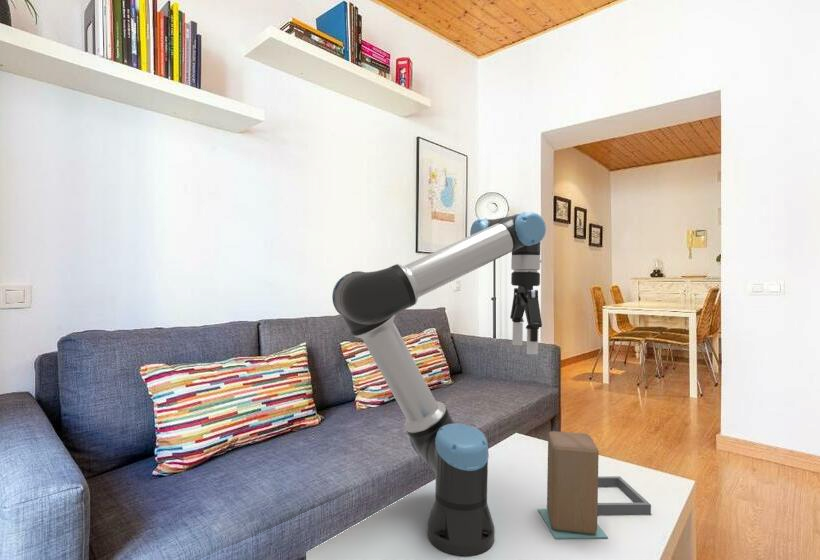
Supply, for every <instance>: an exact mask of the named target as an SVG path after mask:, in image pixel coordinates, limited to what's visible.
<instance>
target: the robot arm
mask: <svg viewBox="0 0 820 560" xmlns="http://www.w3.org/2000/svg"><path fill="white" fill-rule="evenodd" d="M545 222H546V221H545V220H544V219H543V217H542V216H541V215H540V214H538V213H536V212H533V211H529V212H527V211H526V212H524V211H523V212H520V213H516V214H514V215H510V216H503V217H499V218H495V219H493V218H492V219H490V218H489V219H487V218H482V219H481V218H479V219H478V218H477V219H475V221H473V223H472V224H471V227H470V229H469V230H470V231H469V232H470V233H469V236H466V237H464V238H462V239H460V240H458V241H456V242H453V243H451V244H448V245H447V246H445V247H442V248H440V249H438V250H436V251H434V252H432V253H429V254H427V255H425V256H423V257H420V258H418V259H416V260H413V261H412V262H409V263H407V264H405V265H401V264H399V263H396V264H393V265H392V266H389V267H386V268H384V269H383V268H382V269H380V270H376V271H366V272H365V271H361V270H360V271H359V270H358V271H357V270H356V271H351V272H349V273H346V274H345V275H344V276H342V277H340V279H338V280H337V282H336V283H335V285H334V287H333V290H332V304H333V307H334V309H335V311H336V312H337V313H338V314H339V315H341V317H342V318H343V320H344V321H345V322H344V323H345V324H346V325H347V327H348V329H349V331H350V332H351V334H352V336H353V337H355V338H359V339H361V340H362V341H363V343H364V344H365V346H366V348H367V350H368V352H369V354H370V356H371V357H372V359H373V361H374V363H375V365H376V366H377V368H378V370H379V372H380V374H381V375H382V377H383V379H384V381H385V382H386V384H387V386H388V388H389V390H390V392H391V393H392V395H393V397H394V399H395V401H396V402H397V404H398V406H399V409H400V410H401V411H402V413H403V415H404V417H405V418H406V419H405V422H404V424H403V425H404V429H405V431H406V433H407V435H408V437H409V442H410V444H411V446H412V447H411V448H412V449H413V450H414V451H415V452H416V454H417V455H418V456H419V457H420V458H421V459H422V460H423V461H424V462H425V463H426V465H428V467H430V469H431V470H432V471H433V472H434V473H435V489H434V491H435V499H434V502H433V505H432V508H431V511H430V512H429V513H430V514H429V516H428V519H427V525H426V528H427V529H426V530H427V531H426V532H427V533H426V534H427V538H428V539H429V542H430V543H431V544H432V545H433V546H434V547H435V548H437V549H439V550H440V551H442V552H445V553H447V554H450V555H456V556H475V555H479V554H482V553H484V552H487V551H488V550H489V549H490V548H491V547H492V546H493V545H494V542H495V537H496V536H495V533H496V532H495V531H496V530H495V525H494V522H493V517H492V514H491V512H490V508H489V504H488V471H489V470H488V469H489V463H488V462H489V458H490V457H489V447H488V446H489V445H488V440H487V437H486V435H485V434H484V433H483V432H482V431H481V430H479V428H476V427H475V426H468V424H464V423H460V422H459V423H455V421H454V420H453V418H452V416H451V414H450V412H449V410H448V409H447V407H446V404H444V403H443V402H442V401H438V400H436V399H435V397H434V395H433V393H432V391H431V388H430V387H429V385H428V384H427V382H426V380H425V379H424V376H423V375H422V373H421V371H420V369H419V367H418V366H417V363H416V361H415V359H414V358H413V356H412V354H411V352H410V350H409V348H408V347H407V345H406V342H405V341H404V339H403V337H402V335H401V333H400V331H399V329H398V328H397V326H396V323H395V322H394V321H395V320H394V319H395V316H396V315H397V314H399V313H401V312H403V311H405V310H407V309H409V308H410V307H413V306H415V305H416V304H417V302H418V300H419V298H421V297H423V296H424V295H427V294H428V293H431V292H433V291H434V290H436V289H438V288H441V287H443V286H445V285H447V284H449V283H451V282H453V281H455V280H457V279H460V278H461V277H463V276H465V275H467V274H469V273H472V272H473V271H475V270H477V269H479V268H481V267H484V266H485V265H487V264H490V263H492V262H494V261H495V260H498V259H500V258H501V257H504V256H507V255H508V254H510V253H511V261H510V262H511V264H510V266H511V268H510V270H513V271H512V272H511V273H510V274H511V275H510V276H511V278H510V281H511V282H510V284H511V285H512V286H515V287H514V289H513V298H512V305H511V312H510V317H509V318H510V320H511V321H512V337H511V338H512V339H511V340H512V346H523V335H524V334H523V333H524V332H523V331H524V329H523V328H524V327H523V326H524V324H523V323H524V322H525V320H524V314H525V316H526V317H525V318H526V323H527V325H526V326H525V330H526V354H527V355H539V329H540V328H542V327H543V323H542V315H541V308H540V302H539V290H538V289H534V287H538V286H540V285H541V273H540V269H541V263H542V262H543V259H541V244H542V243H541V241H542V240H543V239H544V238H545V235H546V230H547V228H546V227H547V226H546V223H545ZM516 286H517V287H516Z"/></svg>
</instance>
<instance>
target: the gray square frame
mask: <svg viewBox="0 0 820 560" xmlns="http://www.w3.org/2000/svg"><path fill="white" fill-rule="evenodd" d="M598 488H618V489H619V490H620V491H622V492H623V494H624V495H626V496H627V497H628V498H629V499H630V500H631V501H632V502H598V510H597V516H629V515H630V516H631V515H632V516H636V515H637V516H638V515H639V516H640V515H641V516H642V515H643V516H645V515H646V516H648V515H652V514H651V511H652V504H651V503H650V502H649V501H648V500H647V499H645V498H644V497H643V496H642V495H641V494H640V493H639V492H638V491H637V490H636V489H634V487H632V486H631V485H630V484H629V482H627V481H626V480H624V479H623V478H622V477H621V476H618V475H616V476H598Z"/></svg>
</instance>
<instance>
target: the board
mask: <svg viewBox="0 0 820 560" xmlns="http://www.w3.org/2000/svg"><path fill="white" fill-rule="evenodd" d="M537 511H538V513H539V515H540V517H541V518H542V520H543V521H544V523H545V525H546V527H547V528H548V530H549V531H550V533H551V534H552V536H553V538H554V539H555V540H592V539H593V540H595V539H596V540H597V539H600V540H602V539H603V540H604V539H605V540H606V539H607V540H608V539H609V536H608V535H607V534H606V533H605V531H604V530H603V529H602V528H601V526H600V525H599V524H598V523H597V531H596V534H586V533H578V532H569V531H560V530H555V529H553V528H552V525H551V522H550V517H549V513H548V509H547V507H545V508H537Z"/></svg>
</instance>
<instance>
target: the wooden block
mask: <svg viewBox="0 0 820 560" xmlns="http://www.w3.org/2000/svg"><path fill="white" fill-rule="evenodd" d="M547 440H548V441H547V482H546V483H547V484H546V485H547V486H546V487H547V488H546V489H547V490H546V508H547V509H548V513H549V517H550V522H551V525H552V528H553V529H555V530H560V531H569V532H578V533H586V534H596V531H597V524H598V515H597V510H598V503H599V502H598V500H599V496H598V495H599V487H598V477H599V454H600V453H599V452H600V451H599V449H598V447H597V445H596V443H595V441H594V440H593V438H592V437H591V435H590V434H588V433H582V432H581V433H580V432H570V431H569V432H568V431H555V430H554V431H553V430H552V431H549V432H548V434H547Z"/></svg>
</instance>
